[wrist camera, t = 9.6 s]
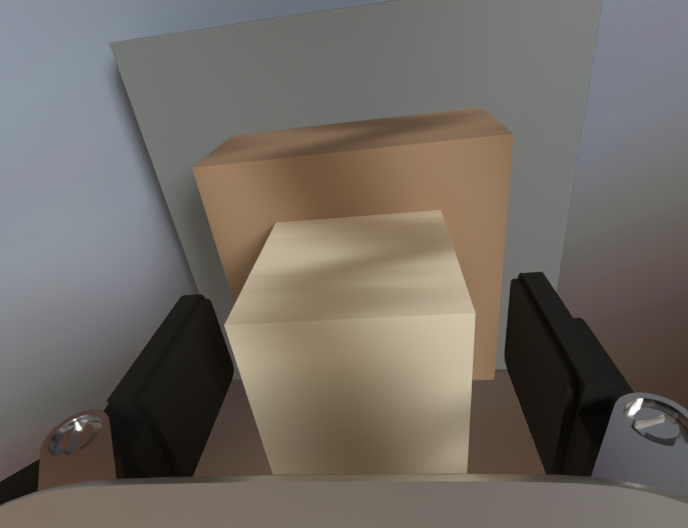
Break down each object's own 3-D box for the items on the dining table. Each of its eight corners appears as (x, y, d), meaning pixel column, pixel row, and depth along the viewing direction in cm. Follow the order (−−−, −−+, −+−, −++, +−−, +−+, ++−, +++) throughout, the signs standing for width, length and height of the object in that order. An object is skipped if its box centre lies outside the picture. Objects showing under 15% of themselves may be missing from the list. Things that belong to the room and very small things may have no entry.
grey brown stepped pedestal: (585, -26, 14) (697, -52, 9) (534, 346, 21) (579, 439, 17) (131, 41, 16) (23, 49, 11) (238, 360, 23) (203, 446, 19)
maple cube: (440, 209, 12) (475, 312, 8) (440, 340, 15) (467, 473, 10) (275, 222, 13) (224, 325, 8) (302, 346, 15) (272, 474, 11)
